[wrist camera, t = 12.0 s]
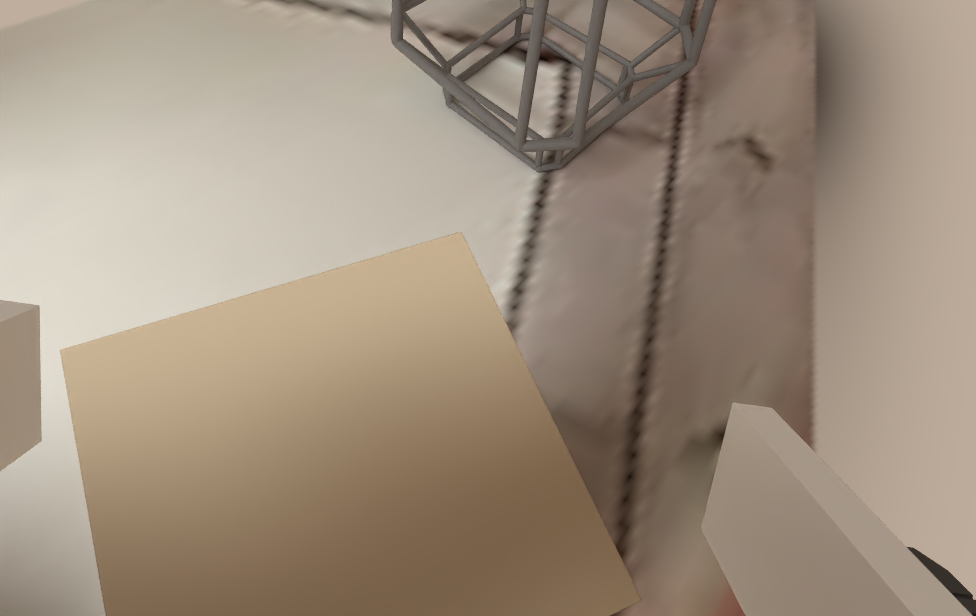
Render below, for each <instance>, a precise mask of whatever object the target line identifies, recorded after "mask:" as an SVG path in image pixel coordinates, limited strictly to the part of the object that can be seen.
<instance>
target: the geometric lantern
mask: <svg viewBox="0 0 976 616" xmlns="http://www.w3.org/2000/svg"><path fill="white" fill-rule="evenodd" d="M424 1H426V0H392V13H391V41H392V44H393V45H394V46H395V47H396V48H397V49H398V50H399V51H400V52H402V53H403V54H404V55H405V56H406V57H408V58H409V59H410V60H411V61H412V62H413V63H415V64H416V65H417V66H418V67H419V68H421V69H422V70H423V71H424V72H425V73H427V74H428V75H429V76H430V77H431V78H433V79H434V80H435V81H436V82H437V83H438V84H440V85H441V86H442V87H443V93H444V96H445V99H446V105H447V106H448V107H449V108H451V109H453V110H454V111H455V112H457V113H458V114H459V115H461V116H462V117H464V118H465V119H466V120H468V121H469V122H470V123H472V124H473V125H474V126H476V127H477V128H478V129H480V130H481V131H483V132H484V133H485V134H487V135H488V136H489V137H491V138H492V139H493V140H495V141H496V142H497V143H499V144H500V145H501V146H503V147H504V148H506V149H507V150H508V151H510V152H511V153H512V154H514V155H515V156H516V157H518V158H519V159H520V160H522V161H523V162H524V163H526V164H527V165H529V166H530V167H531V168H533V169H534V170H536V171H537V172H543V171H549V170H555V169H561V168H563V166H564V165H565V164H566V163H568V162H569V161H570V160H571V159H572V158H573V157H574V156H576V155H577V154H578V153H579V152H580V151H581V150H582V149H584V148H585V147H586V146H587V145H588V144H589V143H590V142H592V141H593V140H594V139H595V138H596V137H597V136H599V135H600V134H601V133H602V132H603V131H604V130H606V129H607V128H608V127H610V126H611V125H613V124H614V123H616V122H617V121H618V120H620V119H621V118H623V117H624V116H626V115H627V114H628V113H630V112H631V111H633V110H634V109H635V108H637V107H638V106H640V105H641V104H643V103H644V102H645V101H647V100H648V99H650V98H651V97H653V96H654V95H655V94H657V93H658V92H660V91H661V90H662V89H664V88H665V87H667V86H668V85H670V84H671V83H672V82H674V81H675V80H677V79H678V78H680V77H681V76H682V75H684V74H685V73H687V72H688V71H689V70H691V69H692V68H694V67H695V66H696V65H697V62H698V59H699V56H700V52H701V49H702V46H703V42H704V39H705V36H706V33H707V29H708V26H709V23H710V19H711V16H712V13H713V9H714V6H715V2H716V0H704V3H703V7H702V10H701V14H700V17H699V21H698V24H697V28H696V32H695V35H694V39H693V38H692V33H691V30H690V27H689V21H690V18H691V15H692V12H693V9H694V6H695V3H696V0H686V1H685V4H684V7H683V10H682V13H681V16H680V18H679V17H678V16H676V15H675V14H673V13H672V12H670V11H669V10H667V9H666V8H664V7H662V6H661V5H659V4H658V3H656V2H655V1H653V0H634V1H635V2H637V3H638V4H640V5H641V6H643V7H644V8H646V9H647V10H649V11H650V12H652V13H653V14H655V15H656V16H658V17H659V18H661V19H663V20H664V21H666V22H667V23H669V24H670V25H672V26H673V27H675V28H673V29H672V30H671V31H669V32H668V33H667V34H666V35H664V36H663V37H662V38H661V39H659V40H658V41H657V42H655V43H654V44H653V45H652V46H650V47H649V48H648V49H647V50H645V51H644V52H643V53H641V54H640V55H639V56H638V57H636V58H635V59H634V60H632V61H631V62H630V61H629V60H627V59H625V58H624V57H622V56H620V55H618V54H617V53H615V52H613V51H612V50H610V49H608V48H606V47H605V46H603V45H601V44H600V40H601V34H602V29H603V23H604V18H605V12H606V7H607V1H608V0H594V2H593V8H592V14H591V21H590V27H589V33H588V37H587V36H586V35H584V34H582V33H580V32H579V31H577V30H575V29H574V28H572V27H570V26H568V25H567V24H565V23H563V22H561V21H560V20H558V19H556V18H555V17H553V16H551V15H549V14H548V13H547V8H548V2H549V0H535V3H534V8H529V7H527V6H526V0H520V8H519V9H517V10H516V11H515V12H513V13H512V14H511V15H509V16H508V17H507V18H505V19H504V20H503V21H501V22H500V23H499V24H497V25H496V26H495V27H493V28H492V29H490V30H489V31H488V32H486V33H485V34H484V35H482V36H481V37H480V38H478V39H477V40H476V41H474V42H473V43H472V44H470V45H469V46H468V47H466V48H465V49H464V50H462V51H461V52H460V53H458V54H457V55H456V56H454V57H453V58H452V59H450V60H449V61H448V62H447V61H446V60H445V59H444V58H443V56H442V55H441V54H440V53H439V52H438V51H437V49H436V48H435V47H434V46H433V45H432V43H431V42H430V41H429V40H428V39H427V38H426V36H425V35H424V34H423V33H422V32H421V30H420V29H419V28H418V27H417V26H416V25H415V23H414V22H413V21H412V20H411V19H410V17H409V16H408V15H407V14H406V13H405V12H406V11H408V10H410V9H412V8H413V7H415V6H417V5H419V4H421V3H422V2H424ZM523 14H530V15H533V17H532V24H531V31H530V33H523V34H521V26H522V19H523ZM515 19H516V25H515V34H514V36H513V37H512V38H510V39H509V40H508V41H506V42H505V43H503V44H502V45H501V46H499V47H498V48H496V49H495V50H494V51H492V52H491V53H489V54H488V55H486V56H485V57H484V58H482V59H481V60H479V61H478V62H477V63H475V64H474V65H472V66H471V67H470V68H468V69H467V70H465V71H464V72H463V73H461V74H460V75H458V76H457V77H455V76H453V75H452V74H451V67H452V66H454V65H455V64H456V63H458V62H459V61H460V60H462V59H463V58H464V57H466V56H467V55H468V54H470V53H471V52H472V51H474V50H475V49H476V48H478V47H479V46H480V45H482V44H483V43H484V42H486V41H487V40H488V39H490V38H491V37H492V36H494V35H495V34H496V33H498V32H499V31H500V30H502V29H503V28H504V27H506V26H507V25H508V24H510V23H511V22H512V21H514V20H515ZM545 20H547V21H548V22H550V23H552V24H553V25H555V26H557V27H559V28H560V29H562V30H564V31H565V32H567V33H569V34H571V35H572V36H574V37H576V38H577V39H579V40H581V41H582V42H584V43H586V44H587V45H586V51H585V57H584V63H583V62H582V61H580V60H579V59H577V58H576V57H574V56H573V55H571V54H570V53H568V52H567V51H565V50H564V49H562V48H561V47H559V46H558V45H556V44H555V43H553V42H552V41H550V40H549V39H547V38H546V37H544V36H543V33H544V27H545ZM403 21H404V22H405V23H406V25H407V26H408V27H409V28H410V29H411V30H412V32H413V33H414V34H415V35H416V36H417V37H418V39H419V40H420V41H421V42H422V43H423V45H424V46H425V47H426V48H427V49H428V50H429V52H430V53H431V54H432V55H433V56H434V57H435V59H436V60H437V61H438V62H439V63H440V65H441V66H442V67H443V68H442V67H440V66H439V65H438V64H436V63H435V62H434V61H432V60H431V59H430V58H428V57H427V56H426V55H424V54H423V53H422V52H420V51H419V50H418V49H416V48H415V47H414V46H412V45H411V44H410V43H408V42H407V41H406V40H404V39H403ZM679 32H680V33H681V36H682V41H683V45H684V50H685V54H686V61H682V62H678V63H675V64H671V65H667V66H664V67H660V68H657V69H653V70H649V71H646V72H642V73H638V74H635V73H634V67H636V66H637V65H638V64H639V63H641V62H642V61H643V60H645V59H646V58H647V57H648V56H650V55H651V54H652V53H654V52H655V51H656V50H657V49H659V48H660V47H661V46H663V45H664V44H665V43H666V42H668V41H669V40H670V39H672V38H673V37H674V36H675V35H677V34H678V33H679ZM518 40H529V44H528V51H527V58H526V65H525V72H524V79H523V85H522V92H521V100H520V107H519V114H518V120H517V119H516V118H514V117H513V116H511V115H510V114H508V113H507V112H505V111H504V110H503V109H501V108H500V107H498V106H497V105H495V104H494V103H492V102H491V101H489V100H488V99H487V98H485V97H484V96H482V95H481V94H479V93H478V92H476V91H475V90H473V89H472V88H471V87H469V86H468V85H466V84H465V83H463V82H462V81H463V80H464V79H466V78H467V77H468V76H470V75H471V74H473V73H474V72H475V71H477V70H478V69H479V68H481V67H482V66H484V65H485V64H486V63H488V62H489V61H491V60H492V59H493V58H495V57H496V56H498V55H499V54H500V53H502V52H503V51H504V50H506V49H507V48H509V47H510V46H511V45H513V44H514V43H516V42H517V41H518ZM542 43H544V44H545V45H546V46H548V47H549V48H551V49H552V50H554V51H555V52H557V53H558V54H560V55H561V56H563V57H564V58H566V59H567V60H569V61H570V62H572V63H573V64H575V65H576V66H578V67H579V68H581V69H582V76H581V82H580V88H579V95H578V102H577V109H576V116H575V123H574V124H573V125H571V126H570V127H569V128H568V129H567V130H566V131H564V132H563V133H562V134H561V135H560V136H559V137H557V138H543V137H542V136H540V135H539V134H537V133H536V132H535V131H533V130H532V129H530V128H529V127H528V125H529V118H530V112H531V105H532V99H533V93H534V87H535V81H536V75H537V69H538V63H539V57H540V51H541V45H542ZM598 51H600V52H601V53H603V54H605V55H606V56H608V57H610V58H612V59H613V60H615V61H617V62H618V63H620V64H622V65H624V67H623V70H622V73H621V76H620V79H619V82H618V85H616V84H615V83H613V82H612V81H610V80H609V79H607V78H606V77H604V76H603V75H601V74H600V73H598V72H597V71H595V67H596V62H597V56H598ZM665 73H667V74H666V75H665V76H663V77H662V78H660V79H659V80H657V81H656V82H654V83H653V84H652V85H650V86H649V87H647V88H646V89H644V90H643V91H641V92H640V93H639V94H637V95H636V96H634V97H633V98H631V99H630V100H629V96H630V92H631V89H632V85H633V82H635V81H639V80H642V79H646V78H650V77H654V76H657V75H661V74H665ZM627 75H628V78H627ZM594 78H596V79H597V80H599V81H600V82H602V83H603V84H605V85H606V86H608V87H609V88H611V89H612V91H611V92H610V93H609V94H608V95H607V96H605V97H604V98H603V99H602V100H601V101H600V102H598V103H597V104H596V105H595V106H594V107H593V108H591V109H590V110H589V111H588V108H589V102H590V95H591V90H592V84H593V79H594ZM624 89H625V90H624ZM623 90H624V91H623ZM452 95H453V96H454V97H455V98H456V99H457V100H459V101H460V102H461V103H462V104H463V105H465V106H466V107H467V108H468V109H469V110H471V111H472V112H473V113H474V114H475V115H476V116H478V117H479V118H480V119H481V120H482V121H484V122H485V123H486V124H487V125H488V126H490V127H491V128H492V129H493V130H494V131H495V132H497V133H498V134H499V135H500V136H499V135H498V134H497V133H495V132H494V131H492V130H491V129H490V128H488V127H487V126H486V125H484V124H483V123H482V122H480V121H479V120H478V119H476V118H475V117H473V116H472V115H471V114H469V113H468V112H467V111H465V110H464V109H463V108H461V107H460V106H458V105H457V104H456V103H454V102H453V100H452ZM617 95H619V98H620V100H621V102H622V104H623V105H621V106H620V107H618V108H617V109H615V110H614V111H613V112H611V113H610V114H608V115H607V116H605V117H604V118H602V119H601V120H600V121H598V122H597V123H595V124H594V125H592V126H591V127H589V128H588V129H587V130H585V127H586V122H587V121H588V120H589V119H590V118H591V117H593V116H594V115H595V114H596V113H597V112H598V111H600V110H601V109H602V108H603V107H604V106H605V105H607V104H608V103H609V102H610V101H611V100H612V99H613V98H615V97H616V96H617ZM472 97H473V98H472ZM475 99H476V100H477V101H479V102H480V103H481V104H483V105H484V106H486V107H487V108H489V109H490V110H492V111H493V112H495V113H496V114H497V115H499V116H500V117H502V118H503V119H505V120H506V121H508V122H509V123H510V124H512V125H513V126H515V127H516V133H515V132H513V131H512V130H511V129H510V128H509V127H507V126H506V125H505V124H504V123H502V122H501V121H500V120H499V119H498V118H496V117H495V116H494V115H493V114H492V113H490V112H489V111H488V110H487V109H486V108H484V107H483V106H482V105H481V104H480V103H478V102H477V101H476V100H475ZM572 134H573V137H569V136H571V135H572ZM527 135H528V136H529V137H531V138H532V139H534V140H526V137H527ZM502 137H503V138H504V139H503V138H502ZM568 149H572V150H571V151H570V152H569V153H568V154H567V155H565V156H564V157H563V158H562V156H563V152H564V150H568ZM553 150H557V151H556V156H555V160H554V163H549V164H543V165H541V164H542V159H543V151H553ZM521 151H523V152H536V160H535V161H533V160H532V159H531V158H529V157H528V156H527V155H525V154H524V153H522V152H521Z"/></svg>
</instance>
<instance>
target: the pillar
mask: <svg viewBox="0 0 976 616" xmlns="http://www.w3.org/2000/svg"><path fill="white" fill-rule="evenodd" d="M60 353H61V359H62V365H63V371H64V376H65V382H66V388H67V394H68V399H69V405H70V411H71V417H72V423H73V428H74V434H75V440H76V446H77V451H78V457H79V463H80V469H81V475H82V480H83V486H84V492H85V498H86V503H87V509H88V515H89V521H90V527H91V532H92V538H93V544H94V550H95V555H96V561H97V567H98V573H99V579H100V584H101V590H102V596H103V602H104V607H105V613H106V616H610V615H612V614H614V613H617V612H619V611H621V610H623V609H625V608H627V607H629V606H631V605H633V604H635V603H637V602H639V601H641V598H640V596H639V594H638V592H637V589H636V587H635V585H634V583H633V581H632V579H631V577H630V575H629V573H628V571H627V569H626V567H625V565H624V563H623V561H622V559H621V557H620V555H619V553H618V551H617V549H616V547H615V545H614V543H613V541H612V538H611V536H610V534H609V532H608V530H607V528H606V526H605V524H604V522H603V520H602V518H601V516H600V514H599V512H598V510H597V508H596V506H595V504H594V502H593V500H592V498H591V496H590V494H589V492H588V489H587V487H586V485H585V483H584V481H583V479H582V477H581V475H580V473H579V471H578V469H577V467H576V465H575V463H574V461H573V459H572V457H571V455H570V453H569V451H568V449H567V447H566V445H565V443H564V441H563V438H562V436H561V434H560V432H559V430H558V428H557V426H556V424H555V422H554V420H553V418H552V416H551V414H550V412H549V410H548V408H547V406H546V404H545V402H544V400H543V398H542V396H541V394H540V392H539V389H538V387H537V385H536V383H535V381H534V379H533V377H532V375H531V373H530V371H529V369H528V367H527V365H526V363H525V361H524V359H523V357H522V355H521V353H520V351H519V349H518V347H517V345H516V343H515V341H514V338H513V336H512V334H511V332H510V330H509V328H508V326H507V324H506V322H505V320H504V318H503V316H502V314H501V312H500V310H499V308H498V306H497V304H496V302H495V300H494V298H493V296H492V294H491V292H490V289H489V287H488V285H487V283H486V281H485V279H484V277H483V275H482V273H481V271H480V269H479V267H478V265H477V263H476V261H475V259H474V257H473V255H472V253H471V251H470V249H469V247H468V245H467V243H466V241H465V238H464V236H463V234H462V232H459V233H455V234H452V235H448V236H445V237H442V238H438V239H435V240H431V241H428V242H425V243H421V244H418V245H414V246H411V247H408V248H404V249H401V250H397V251H394V252H391V253H387V254H384V255H381V256H377V257H374V258H370V259H367V260H364V261H360V262H357V263H353V264H350V265H347V266H343V267H340V268H336V269H333V270H330V271H326V272H323V273H320V274H316V275H313V276H309V277H306V278H303V279H299V280H296V281H292V282H289V283H286V284H282V285H279V286H275V287H272V288H269V289H265V290H262V291H258V292H255V293H252V294H248V295H245V296H242V297H238V298H235V299H231V300H228V301H225V302H221V303H218V304H214V305H211V306H208V307H204V308H201V309H197V310H194V311H191V312H187V313H184V314H180V315H177V316H174V317H170V318H167V319H164V320H160V321H157V322H153V323H150V324H147V325H143V326H140V327H136V328H133V329H130V330H126V331H123V332H119V333H116V334H113V335H109V336H106V337H102V338H99V339H96V340H92V341H89V342H86V343H82V344H79V345H75V346H72V347H69V348H65V349H62V350H60Z"/></svg>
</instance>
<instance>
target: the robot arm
mask: <svg viewBox="0 0 976 616" xmlns="http://www.w3.org/2000/svg"><path fill="white" fill-rule="evenodd" d="M39 442H41V379H40V311H39V305H32V304H25V303H18V302H10V301H3V300H0V471H1V470H2V469H4V468H5V467H7V466H8V465H9V464H11V463H12V462H13V461H15V460H16V459H17V458H19V457H20V456H22V455H23V454H24V453H26V452H27V451H28V450H30V449H31V448H33V447H34V446H35V445H37V444H38V443H39ZM701 530H702V532H703V534H704V536H705V538H706V540H707V542H708V544H709V546H710V547H711V549H712V551H713V553H714V555H715V557H716V559H717V561H718V563H719V565H720V567H721V569H722V571H723V573H724V575H725V577H726V579H727V581H728V583H729V585H730V587H731V588H732V590H733V592H734V594H735V596H736V598H737V600H738V602H739V604H740V606H741V608H742V610H743V612H744V614H745V616H976V600H973V598H972V597H973V595H972V594H971V593H970V592H969V591H968V590H967V589H966V588H965V587H964V586H963V585H962V584H961V583H960V582H959V581H958V580H957V579H956V578H955V577H954V576H953V575H952V574H951V573H950V572H949V571H948V570H946V569H945V568H943V567H942V566H940V565H938V564H937V563H936V562H934V561H933V560H931V559H930V558H928V557H927V556H925V555H924V554H922V553H921V552H919V551H917V550H916V549H914V548H911V547H906V546H905V545H904V544H903V543H902V542H901V541H900V540H899V539H898V538H897V537H896V536H895V535H894V534H893V533H892V532H891V531H890V530H889V529H888V528H887V527H886V525H885V524H883V522H882V521H881V520H880V519H879V518H878V517H877V516H876V515H875V514H874V513H873V512H872V511H871V510H870V509H869V508H868V507H867V506H866V505H865V504H864V503H863V502H862V501H861V500H860V499H859V498H858V496H856V494H855V493H853V492H852V490H851V489H850V488H849V487H848V486H847V485H846V484H845V483H844V482H843V481H842V480H841V479H840V478H839V477H838V476H837V475H836V474H835V473H834V472H833V471H832V470H831V469H830V468H829V466H828V465H827V464H826V463H825V462H824V461H823V460H822V459H821V458H820V457H819V456H818V455H817V454H816V453H815V452H814V451H813V450H812V449H811V448H810V447H809V446H808V445H807V444H806V443H805V442H804V441H803V440H802V439H801V437H800V436H799V435H798V434H797V433H796V432H795V431H794V430H793V429H792V428H791V427H790V426H789V425H788V424H787V423H786V422H785V421H784V420H783V419H782V418H781V417H780V416H779V415H778V414H777V413H776V412H775V411H774V410H773V408H770V407H763V406H756V405H749V404H742V403H734V402H733V403H732V407H731V411H730V415H729V419H728V423H727V427H726V431H725V435H724V439H723V443H722V447H721V451H720V455H719V459H718V463H717V467H716V470H715V474H714V478H713V482H712V486H711V490H710V494H709V498H708V502H707V506H706V510H705V514H704V518H703V522H702V526H701Z"/></svg>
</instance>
